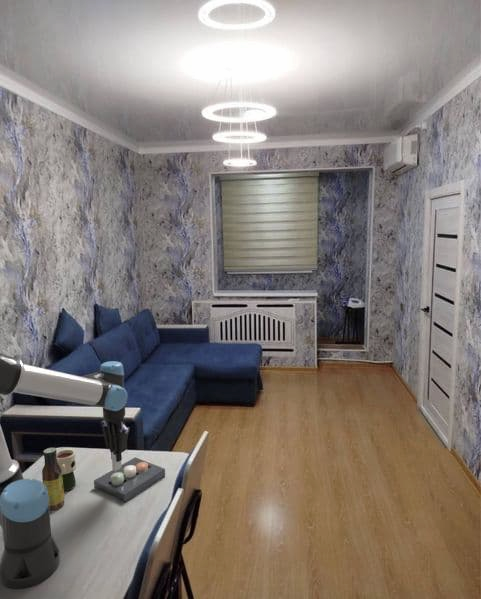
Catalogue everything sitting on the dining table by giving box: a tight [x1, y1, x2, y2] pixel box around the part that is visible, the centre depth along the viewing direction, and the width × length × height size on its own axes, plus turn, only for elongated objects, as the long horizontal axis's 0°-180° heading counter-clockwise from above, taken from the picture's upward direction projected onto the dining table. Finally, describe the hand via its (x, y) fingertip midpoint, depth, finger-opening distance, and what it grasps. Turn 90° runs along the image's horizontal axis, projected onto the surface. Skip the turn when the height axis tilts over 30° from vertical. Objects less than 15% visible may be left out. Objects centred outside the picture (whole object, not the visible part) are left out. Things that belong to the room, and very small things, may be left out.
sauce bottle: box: [41, 447, 65, 511], centre depth 150 cm, size 6×6×20 cm
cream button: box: [124, 465, 136, 480], centre depth 165 cm, size 4×4×4 cm
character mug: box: [56, 448, 77, 491], centre depth 162 cm, size 11×7×13 cm, turn 15°
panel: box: [93, 456, 166, 503], centre depth 165 cm, size 20×16×3 cm
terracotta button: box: [136, 461, 148, 472], centre depth 170 cm, size 4×4×4 cm
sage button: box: [111, 472, 124, 487], centre depth 160 cm, size 4×4×4 cm
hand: (116, 468), depth 159 cm, fingers closed
